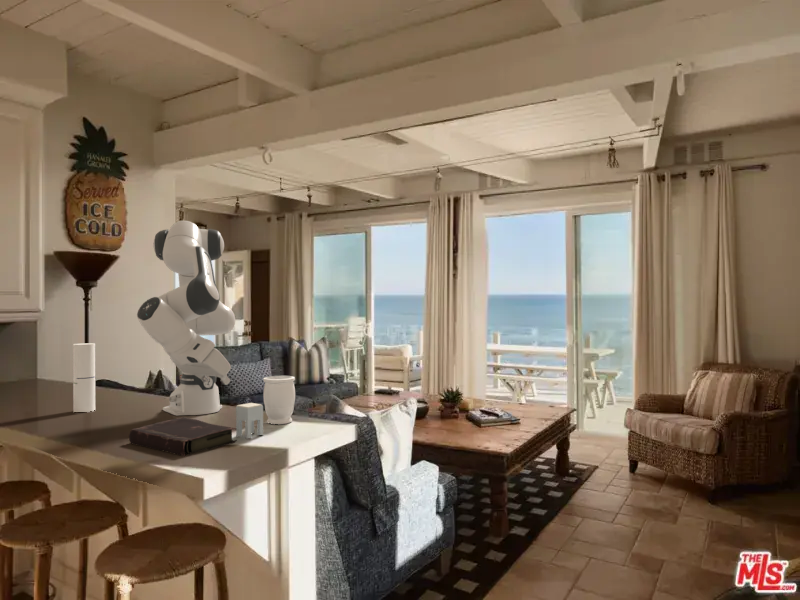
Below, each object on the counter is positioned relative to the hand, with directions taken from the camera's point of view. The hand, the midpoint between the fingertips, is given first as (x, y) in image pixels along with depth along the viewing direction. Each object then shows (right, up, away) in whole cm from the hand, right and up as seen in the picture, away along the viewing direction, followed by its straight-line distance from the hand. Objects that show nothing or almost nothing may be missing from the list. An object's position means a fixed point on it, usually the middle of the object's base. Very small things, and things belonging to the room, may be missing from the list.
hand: (217, 381), depth 160 cm
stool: (+7, -18, +9) cm, 21 cm away
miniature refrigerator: (-66, -18, +50) cm, 85 cm away
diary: (-10, -19, +2) cm, 21 cm away
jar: (+12, -18, +29) cm, 36 cm away
